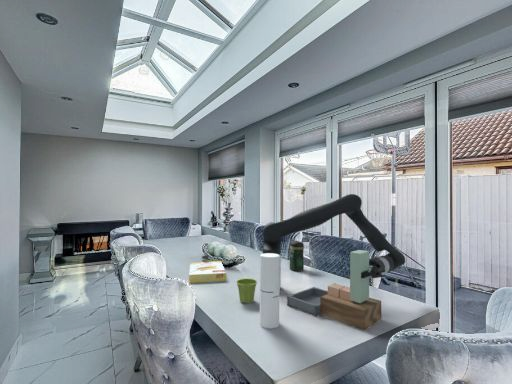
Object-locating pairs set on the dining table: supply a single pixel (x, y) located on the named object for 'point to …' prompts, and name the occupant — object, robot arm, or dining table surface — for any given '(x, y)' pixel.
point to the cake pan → (205, 258)
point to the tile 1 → (334, 290)
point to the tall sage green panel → (359, 276)
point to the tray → (307, 300)
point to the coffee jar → (296, 256)
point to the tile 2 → (345, 293)
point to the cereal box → (207, 272)
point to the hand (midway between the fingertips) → (356, 274)
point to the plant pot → (246, 289)
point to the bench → (351, 311)
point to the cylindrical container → (269, 290)
